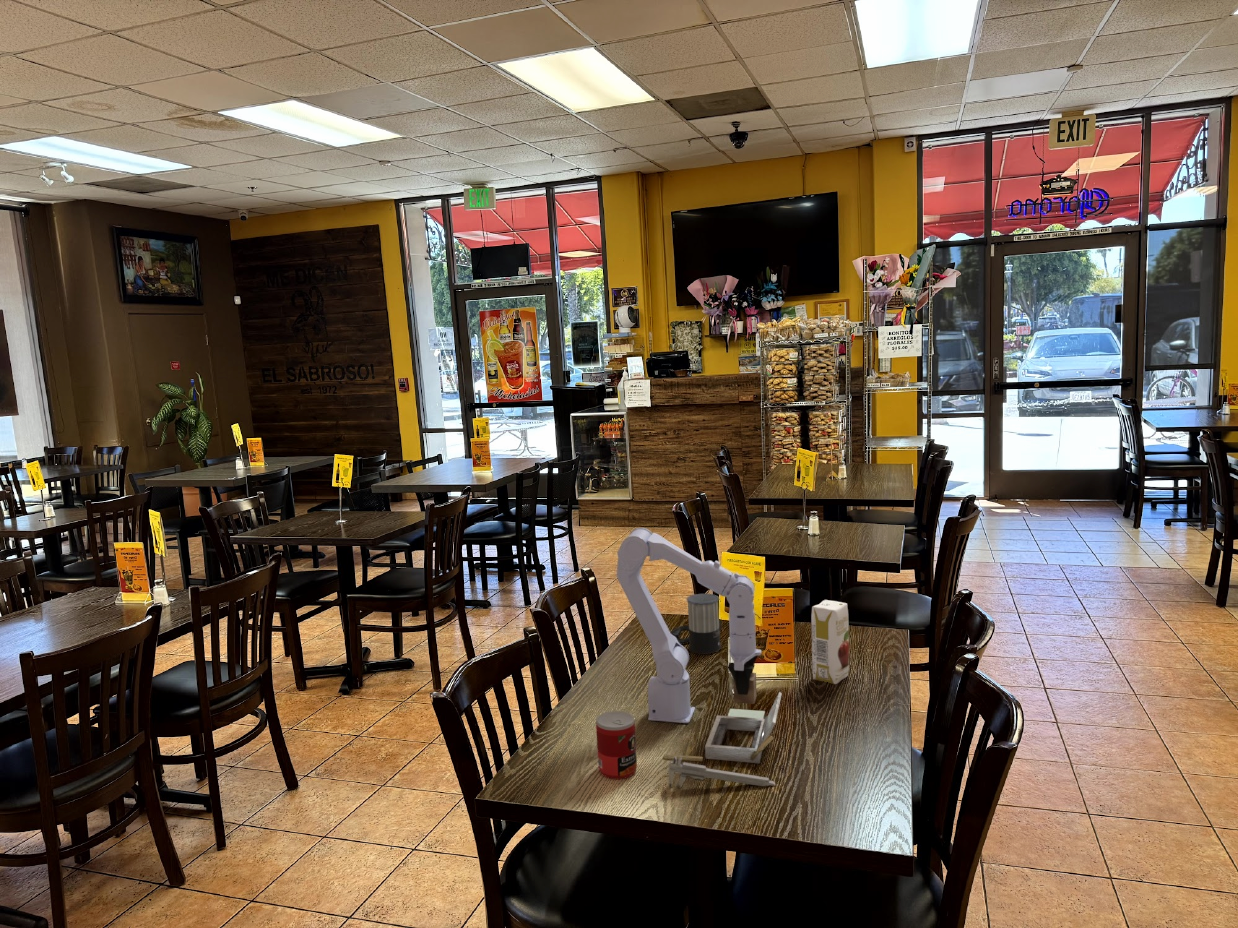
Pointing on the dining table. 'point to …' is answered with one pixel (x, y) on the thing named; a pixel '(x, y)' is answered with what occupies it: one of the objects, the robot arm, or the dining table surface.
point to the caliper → (711, 774)
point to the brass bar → (683, 757)
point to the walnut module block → (751, 694)
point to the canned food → (616, 744)
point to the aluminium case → (728, 752)
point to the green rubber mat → (746, 713)
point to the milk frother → (702, 624)
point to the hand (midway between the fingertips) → (744, 689)
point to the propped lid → (768, 727)
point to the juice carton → (830, 641)
